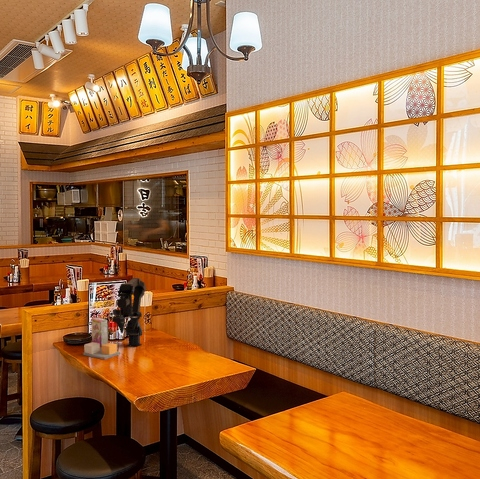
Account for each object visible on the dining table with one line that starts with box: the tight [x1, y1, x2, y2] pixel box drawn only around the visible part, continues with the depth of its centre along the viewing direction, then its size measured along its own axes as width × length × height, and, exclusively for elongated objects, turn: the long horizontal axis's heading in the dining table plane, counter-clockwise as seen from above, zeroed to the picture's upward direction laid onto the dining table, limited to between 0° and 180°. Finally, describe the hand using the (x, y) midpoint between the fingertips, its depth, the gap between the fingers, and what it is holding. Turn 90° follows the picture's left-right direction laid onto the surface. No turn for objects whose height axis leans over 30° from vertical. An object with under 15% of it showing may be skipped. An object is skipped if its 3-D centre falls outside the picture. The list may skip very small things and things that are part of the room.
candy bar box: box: [90, 317, 109, 348], centre depth 304 cm, size 11×5×16 cm, turn 47°
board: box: [82, 341, 121, 360], centre depth 286 cm, size 12×17×6 cm
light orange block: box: [102, 342, 118, 355], centre depth 286 cm, size 6×6×5 cm
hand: (127, 331), depth 291 cm, fingers open, 9 cm apart
